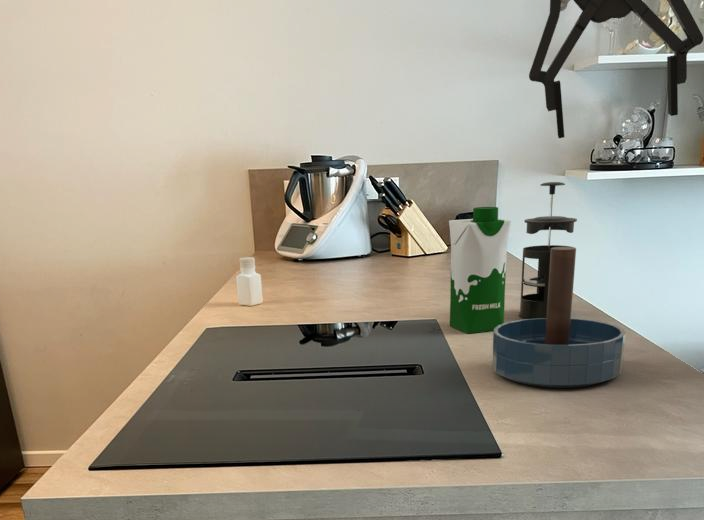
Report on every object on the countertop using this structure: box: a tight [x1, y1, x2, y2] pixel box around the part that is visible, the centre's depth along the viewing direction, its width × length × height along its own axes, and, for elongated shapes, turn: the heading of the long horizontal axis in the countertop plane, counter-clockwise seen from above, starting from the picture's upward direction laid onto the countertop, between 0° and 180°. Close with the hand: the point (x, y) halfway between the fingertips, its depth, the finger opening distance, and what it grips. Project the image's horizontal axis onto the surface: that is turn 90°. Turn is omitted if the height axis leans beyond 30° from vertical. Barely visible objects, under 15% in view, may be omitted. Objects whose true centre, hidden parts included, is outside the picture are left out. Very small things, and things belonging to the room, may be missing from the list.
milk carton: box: [448, 206, 512, 334], centre depth 133 cm, size 9×9×20 cm
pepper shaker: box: [235, 256, 264, 307], centre depth 164 cm, size 4×4×10 cm
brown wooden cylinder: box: [545, 246, 577, 345], centre depth 105 cm, size 5×5×16 cm
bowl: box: [491, 317, 627, 389], centre depth 108 cm, size 17×17×6 cm
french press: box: [518, 181, 578, 319], centre depth 140 cm, size 12×9×23 cm
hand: (616, 125), depth 101 cm, fingers open, 13 cm apart
